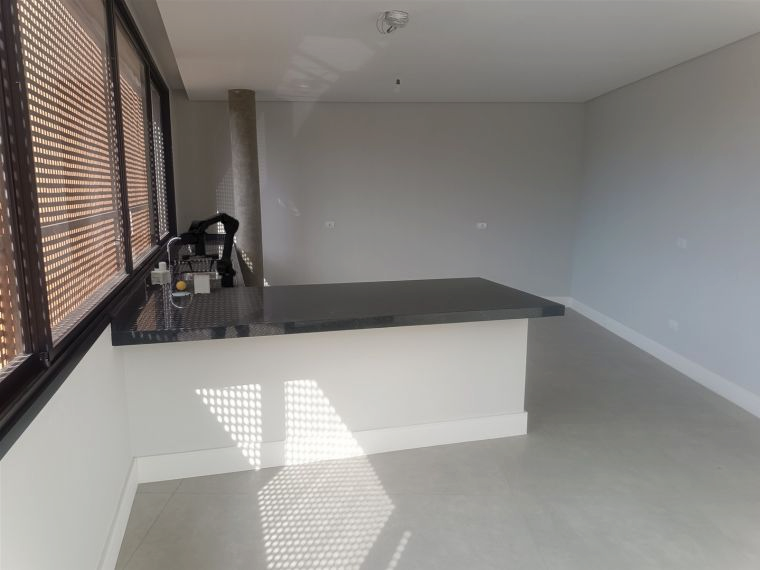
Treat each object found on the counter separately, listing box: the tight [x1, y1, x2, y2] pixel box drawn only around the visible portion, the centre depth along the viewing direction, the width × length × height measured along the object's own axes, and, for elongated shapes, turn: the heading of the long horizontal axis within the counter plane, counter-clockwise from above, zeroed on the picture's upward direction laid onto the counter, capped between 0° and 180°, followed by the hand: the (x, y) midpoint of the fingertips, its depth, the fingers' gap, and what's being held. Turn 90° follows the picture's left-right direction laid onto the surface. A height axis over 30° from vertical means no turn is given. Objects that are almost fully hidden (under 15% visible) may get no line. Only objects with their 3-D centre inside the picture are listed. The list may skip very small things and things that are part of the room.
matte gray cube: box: [193, 274, 211, 295], centre depth 286 cm, size 8×8×9 cm
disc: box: [171, 291, 191, 297], centre depth 281 cm, size 10×10×1 cm
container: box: [150, 261, 172, 286], centre depth 311 cm, size 8×8×13 cm
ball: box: [176, 280, 187, 291], centre depth 292 cm, size 5×5×5 cm
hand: (201, 272), depth 285 cm, fingers open, 9 cm apart
